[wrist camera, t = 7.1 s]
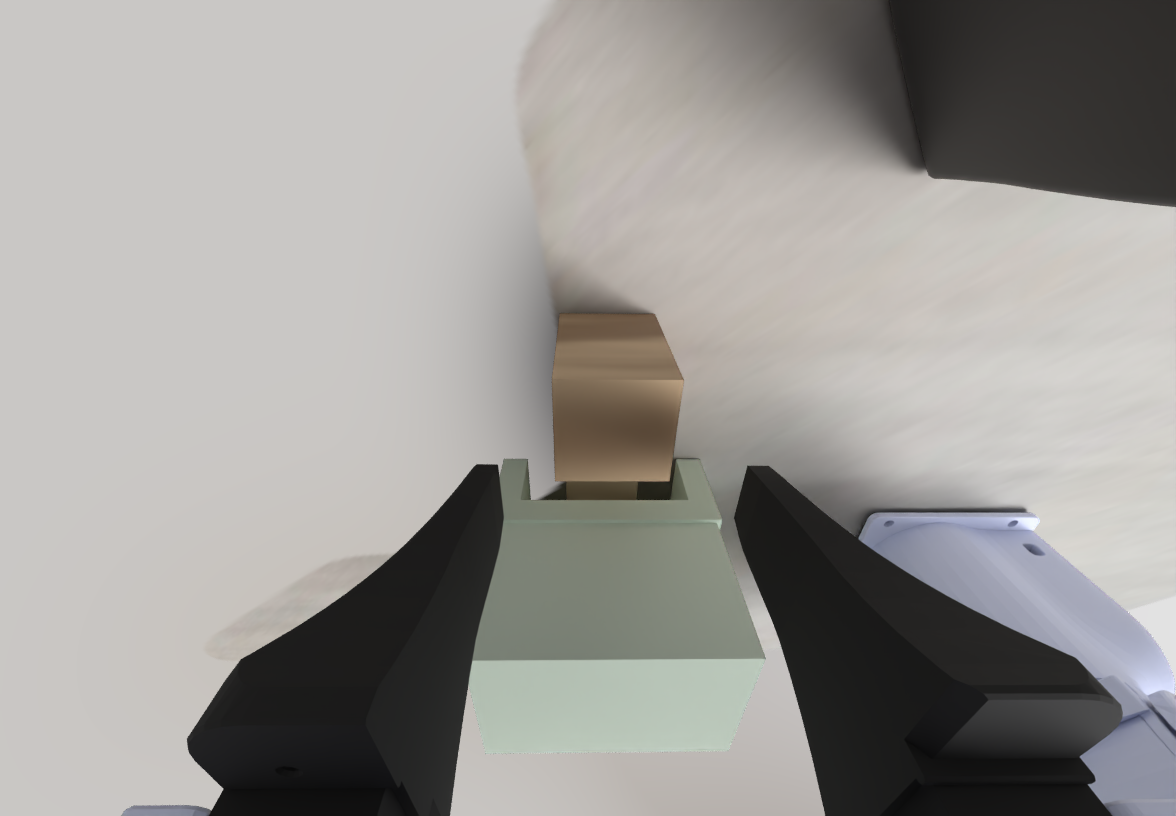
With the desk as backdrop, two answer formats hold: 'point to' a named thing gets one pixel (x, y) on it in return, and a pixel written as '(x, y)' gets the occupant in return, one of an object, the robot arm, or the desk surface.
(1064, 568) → the robot arm
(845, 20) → the desk surface
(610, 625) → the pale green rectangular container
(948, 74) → the battery charger
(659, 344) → the wooden rectangular block
